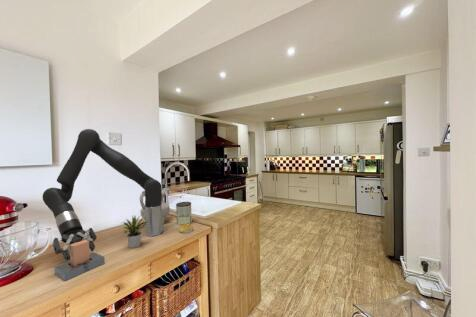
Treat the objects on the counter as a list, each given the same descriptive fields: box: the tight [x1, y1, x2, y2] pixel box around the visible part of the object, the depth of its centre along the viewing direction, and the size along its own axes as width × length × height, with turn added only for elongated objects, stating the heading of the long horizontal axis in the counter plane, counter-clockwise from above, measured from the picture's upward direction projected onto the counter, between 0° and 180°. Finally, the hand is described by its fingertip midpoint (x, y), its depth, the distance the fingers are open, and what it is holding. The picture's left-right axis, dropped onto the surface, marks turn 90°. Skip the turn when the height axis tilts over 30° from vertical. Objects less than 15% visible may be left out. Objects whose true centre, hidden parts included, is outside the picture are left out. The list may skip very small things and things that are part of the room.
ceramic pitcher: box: [139, 187, 171, 223], centre depth 141 cm, size 22×20×25 cm
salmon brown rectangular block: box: [69, 240, 90, 267], centre depth 84 cm, size 6×4×11 cm, turn 150°
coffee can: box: [175, 201, 193, 226], centre depth 139 cm, size 10×10×14 cm
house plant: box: [121, 215, 150, 249], centre depth 103 cm, size 14×14×16 cm
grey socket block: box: [53, 251, 105, 282], centre depth 84 cm, size 14×10×3 cm
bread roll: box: [178, 224, 194, 234], centre depth 124 cm, size 8×9×4 cm
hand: (81, 254), depth 83 cm, fingers open, 8 cm apart
